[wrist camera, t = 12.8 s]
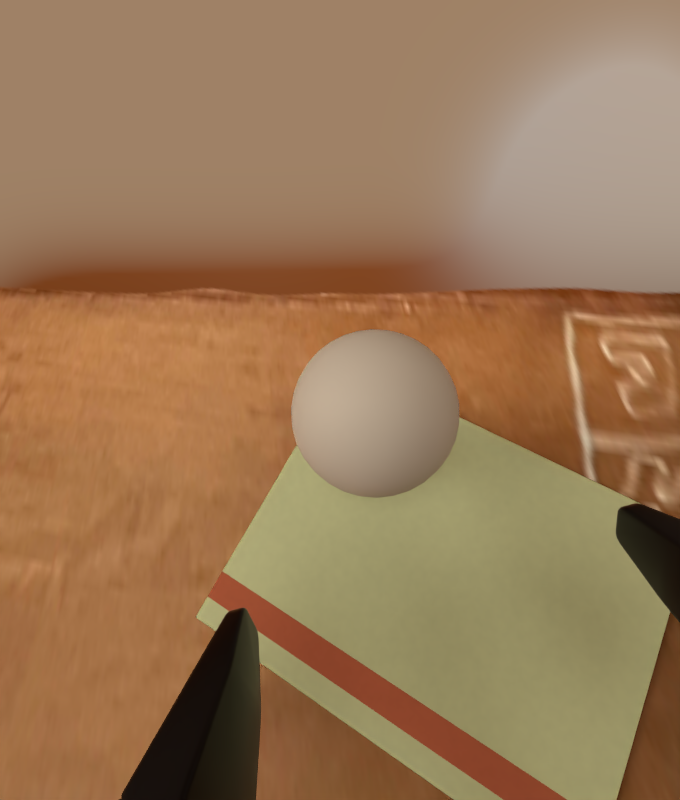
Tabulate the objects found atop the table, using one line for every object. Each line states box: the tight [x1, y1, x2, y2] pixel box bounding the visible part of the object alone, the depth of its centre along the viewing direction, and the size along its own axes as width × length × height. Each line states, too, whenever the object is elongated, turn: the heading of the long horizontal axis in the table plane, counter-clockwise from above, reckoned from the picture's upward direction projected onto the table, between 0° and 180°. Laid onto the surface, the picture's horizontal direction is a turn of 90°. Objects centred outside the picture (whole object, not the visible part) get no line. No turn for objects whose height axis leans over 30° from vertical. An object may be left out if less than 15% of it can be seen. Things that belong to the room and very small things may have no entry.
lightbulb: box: [291, 329, 459, 498], centre depth 17 cm, size 6×6×11 cm
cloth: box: [196, 417, 670, 800], centre depth 20 cm, size 20×16×1 cm
